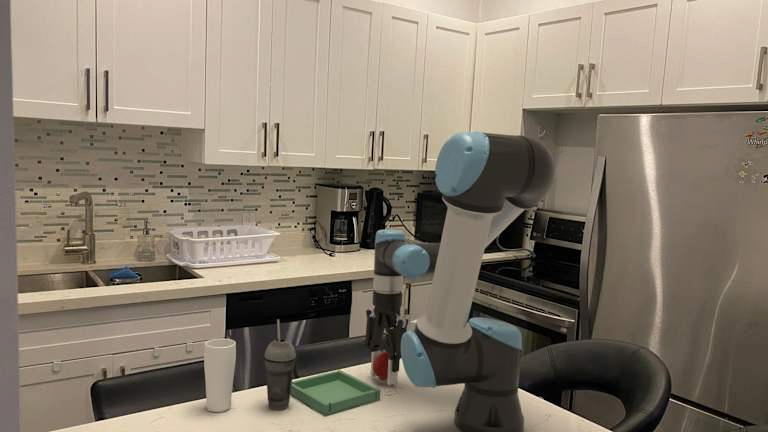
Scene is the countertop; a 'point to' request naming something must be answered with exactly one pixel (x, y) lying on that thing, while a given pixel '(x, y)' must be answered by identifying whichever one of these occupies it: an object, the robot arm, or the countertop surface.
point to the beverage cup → (279, 372)
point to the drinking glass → (219, 373)
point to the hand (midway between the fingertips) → (383, 379)
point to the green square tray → (333, 392)
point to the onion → (381, 365)
